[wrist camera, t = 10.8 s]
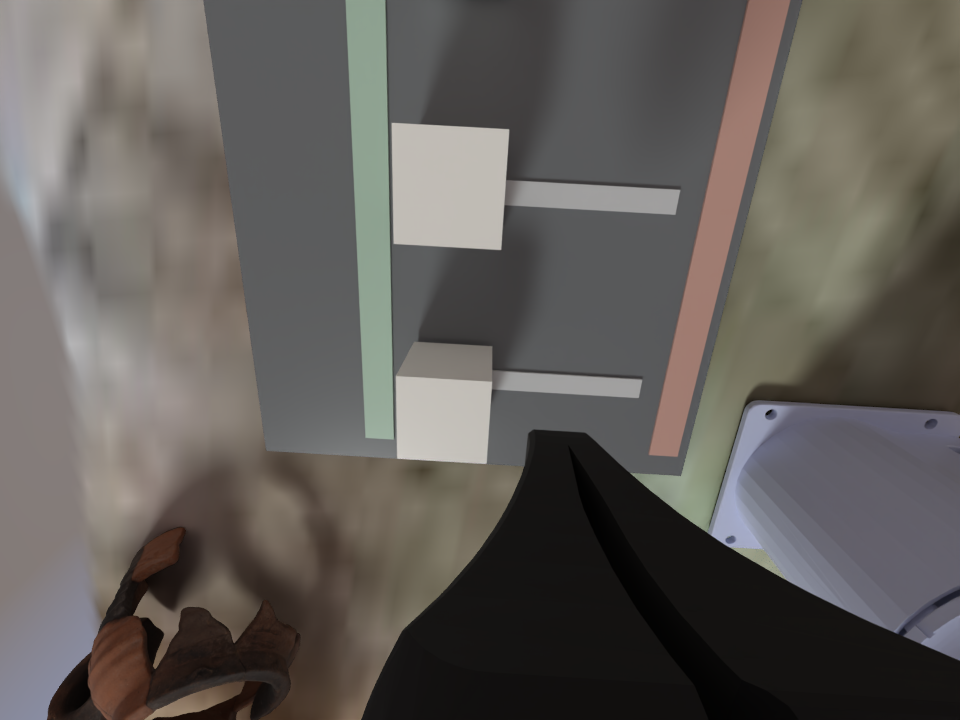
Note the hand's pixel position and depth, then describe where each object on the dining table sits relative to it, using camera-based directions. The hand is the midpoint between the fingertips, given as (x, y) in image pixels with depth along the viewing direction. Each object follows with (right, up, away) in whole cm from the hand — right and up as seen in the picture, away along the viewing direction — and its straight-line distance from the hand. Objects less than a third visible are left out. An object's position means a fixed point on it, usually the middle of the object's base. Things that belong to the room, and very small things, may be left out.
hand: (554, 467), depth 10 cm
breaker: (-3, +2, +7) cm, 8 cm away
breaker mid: (-3, +8, +5) cm, 10 cm away
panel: (-1, +9, +7) cm, 11 cm away
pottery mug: (-17, -11, +15) cm, 25 cm away
